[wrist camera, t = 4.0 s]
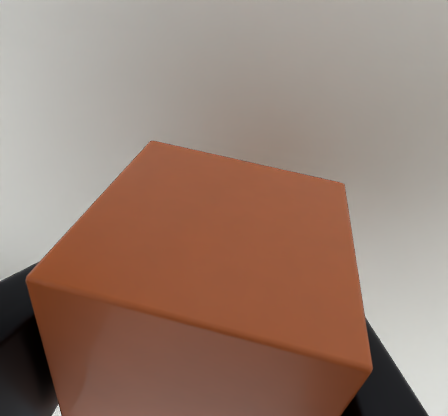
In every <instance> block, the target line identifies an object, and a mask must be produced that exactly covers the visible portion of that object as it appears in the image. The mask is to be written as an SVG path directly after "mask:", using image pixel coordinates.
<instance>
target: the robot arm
mask: <svg viewBox="0 0 448 416" xmlns="http://www.w3.org/2000/svg"><path fill="white" fill-rule="evenodd" d="M39 262H40V261H39ZM39 262H37V263H35V264H34V265H32V266H30V267H28V268H26V269H24V270H22V271H20V272H18V273H16V274H14V275H12V276H10V277H8V278H6V279H4V280H2V281H0V416H52V414H53V413H54V411H55V409H56V407H57V406H58V404H59V403H58V400H57V396H56V392H55V389H54V385H53V381H52V377H51V374H50V370H49V366H48V363H47V359H46V355H45V351H44V348H43V344H42V340H41V337H40V333H39V329H38V325H37V322H36V318H35V314H34V311H33V307H32V303H31V300H30V296H29V292H28V288H27V285H26V277H27V275H28V274H29V273H30V272H31V271H32V269H33V268H34V267H35V266H36V265H37V264H38V263H39ZM365 321H366V327H367V334H368V340H369V347H370V353H371V360H372V366H373V370H372V372H371V374H370V375H369V377H368V378H367V380H366V381H365V382H364V384H363V385H362V387H361V388H360V389H359V391H358V392H357V394H356V395H355V396H354V398H353V399H352V401H351V402H350V403H349V405H348V406H347V408H346V409H345V410H344V412H343V413H342V415H341V416H429V415H428V414H427V412H426V411H425V409H424V408H423V406H422V405H421V403H420V402H419V400H418V398H417V397H416V395H415V394H414V392H413V391H412V389H411V388H410V386H409V384H408V383H407V381H406V380H405V378H404V377H403V375H402V374H401V372H400V370H399V369H398V367H397V366H396V364H395V363H394V361H393V360H392V358H391V357H390V355H389V353H388V352H387V350H386V349H385V347H384V346H383V344H382V343H381V341H380V339H379V338H378V336H377V335H376V333H375V332H374V330H373V329H372V327H371V325H370V324H369V322H368V321H367V319H366V318H365Z"/></svg>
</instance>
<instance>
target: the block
mask: <svg viewBox="0 0 448 416" xmlns="http://www.w3.org/2000/svg"><path fill="white" fill-rule="evenodd" d="M26 285H27V288H28V292H29V296H30V300H31V303H32V307H33V311H34V314H35V318H36V322H37V325H38V329H39V333H40V337H41V340H42V344H43V348H44V351H45V355H46V359H47V363H48V366H49V370H50V374H51V377H52V381H53V385H54V389H55V392H56V396H57V400H58V403H59V407H60V411H61V415H62V416H341V415H342V413H343V412H344V410H345V409H346V408H347V406H348V405H349V403H350V402H351V401H352V399H353V398H354V396H355V395H356V394H357V392H358V391H359V389H360V388H361V387H362V385H363V384H364V382H365V381H366V380H367V378H368V377H369V375H370V374H371V372H372V370H373V366H372V360H371V353H370V347H369V340H368V334H367V327H366V321H365V314H364V308H363V301H362V295H361V288H360V282H359V275H358V269H357V262H356V256H355V249H354V243H353V236H352V230H351V223H350V217H349V210H348V204H347V197H346V191H345V185H344V184H343V183H340V182H336V181H331V180H327V179H322V178H318V177H314V176H309V175H305V174H300V173H296V172H291V171H287V170H282V169H278V168H273V167H269V166H264V165H260V164H255V163H251V162H247V161H242V160H238V159H233V158H229V157H224V156H220V155H215V154H211V153H206V152H202V151H197V150H193V149H188V148H184V147H180V146H175V145H171V144H166V143H162V142H157V141H150V142H149V143H148V144H147V145H146V146H145V147H144V148H143V150H142V151H141V152H140V153H139V154H138V155H137V156H136V157H135V158H134V159H133V160H132V162H131V163H130V164H129V165H128V166H127V167H126V168H125V169H124V170H123V171H122V172H121V174H120V175H119V176H118V177H117V178H116V179H115V180H114V181H113V182H112V183H111V184H110V186H109V187H108V188H107V189H106V190H105V191H104V192H103V193H102V194H101V195H100V196H99V198H98V199H97V200H96V201H95V202H94V203H93V204H92V205H91V206H90V207H89V208H88V210H87V211H86V212H85V213H84V214H83V215H82V216H81V217H80V218H79V219H78V220H77V222H76V223H75V224H74V225H73V226H72V227H71V228H70V229H69V230H68V231H67V232H66V234H65V235H64V236H63V237H62V238H61V239H60V240H59V241H58V242H57V243H56V244H55V245H54V247H53V248H52V249H51V250H50V251H49V252H48V253H47V254H46V255H45V256H44V257H43V259H42V260H41V261H40V262H39V263H38V264H37V265H36V266H35V267H34V268H33V269H32V271H31V272H30V273H29V274H28V275H27V277H26Z"/></svg>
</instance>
